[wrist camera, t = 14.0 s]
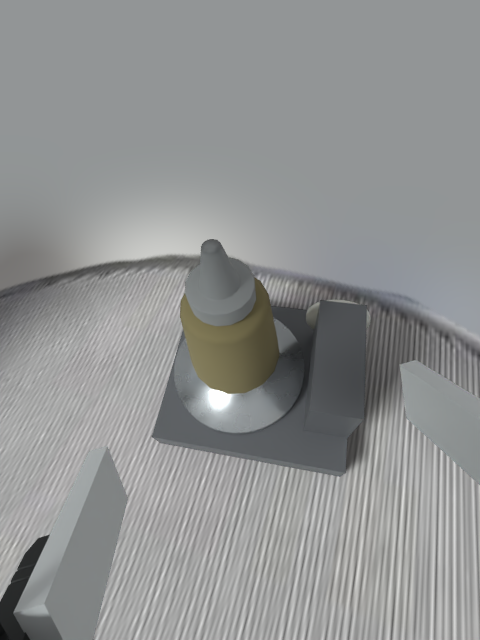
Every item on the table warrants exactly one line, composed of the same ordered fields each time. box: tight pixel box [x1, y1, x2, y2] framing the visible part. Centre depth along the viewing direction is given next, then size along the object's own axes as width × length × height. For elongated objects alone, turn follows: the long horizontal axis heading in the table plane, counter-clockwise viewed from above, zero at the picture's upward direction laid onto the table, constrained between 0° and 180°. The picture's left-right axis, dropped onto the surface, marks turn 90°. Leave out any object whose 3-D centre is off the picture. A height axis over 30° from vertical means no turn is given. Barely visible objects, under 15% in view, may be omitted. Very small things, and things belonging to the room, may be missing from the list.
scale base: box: [152, 300, 370, 476], centre depth 35 cm, size 19×16×10 cm
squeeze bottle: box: [180, 239, 279, 394], centre depth 28 cm, size 8×8×18 cm
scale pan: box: [174, 317, 304, 434], centre depth 36 cm, size 13×13×1 cm
